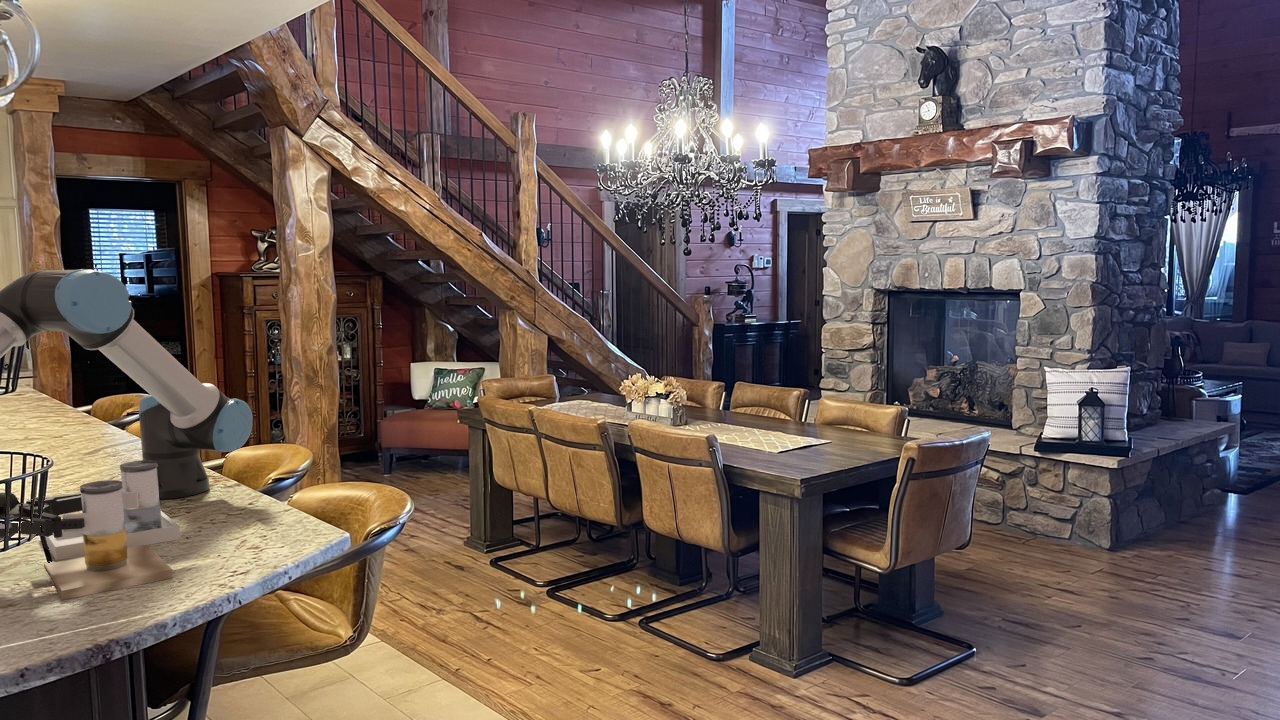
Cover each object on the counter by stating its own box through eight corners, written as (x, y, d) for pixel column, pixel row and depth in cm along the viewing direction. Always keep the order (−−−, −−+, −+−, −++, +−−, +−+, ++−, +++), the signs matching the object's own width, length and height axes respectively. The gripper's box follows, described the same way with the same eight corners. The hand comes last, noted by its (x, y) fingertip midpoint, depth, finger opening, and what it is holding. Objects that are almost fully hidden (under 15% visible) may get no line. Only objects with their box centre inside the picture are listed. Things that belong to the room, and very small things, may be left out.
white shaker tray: (157, 524, 193) (156, 507, 193) (180, 544, 180) (179, 525, 179) (41, 543, 181) (40, 525, 180) (56, 566, 167) (55, 547, 167)
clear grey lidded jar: (157, 530, 186) (153, 458, 184) (165, 537, 181) (161, 464, 179) (121, 536, 182) (116, 463, 180) (128, 544, 177) (123, 468, 175)
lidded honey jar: (123, 557, 167) (118, 478, 166) (131, 566, 162) (126, 484, 161) (82, 565, 163) (76, 484, 162) (89, 574, 158) (83, 491, 157)
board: (147, 552, 175) (146, 544, 175) (172, 577, 161) (172, 569, 161) (44, 571, 165) (44, 562, 165) (62, 600, 151) (61, 590, 151)
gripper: (22, 518, 172) (149, 512, 175) (-55, 562, 147) (95, 554, 150) (19, 476, 171) (147, 471, 174) (-59, 513, 146) (92, 507, 150)
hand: (123, 509), depth 162 cm, fingers open, 13 cm apart
